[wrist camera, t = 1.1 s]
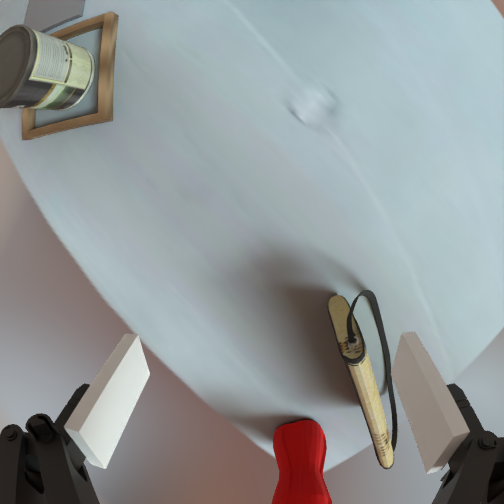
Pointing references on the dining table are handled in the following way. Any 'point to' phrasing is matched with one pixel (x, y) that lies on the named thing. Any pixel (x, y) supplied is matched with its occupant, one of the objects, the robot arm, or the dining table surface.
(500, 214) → the dining table surface
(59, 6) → the mat
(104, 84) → the frame
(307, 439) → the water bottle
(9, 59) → the coffee can
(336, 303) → the clutch purse
